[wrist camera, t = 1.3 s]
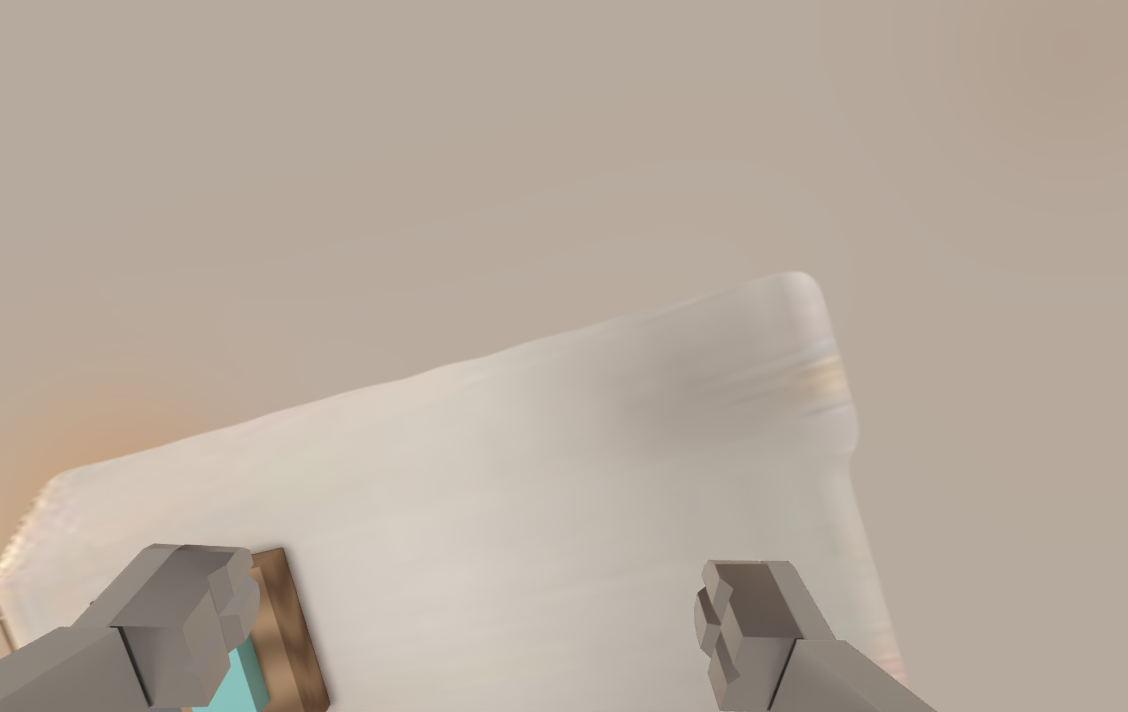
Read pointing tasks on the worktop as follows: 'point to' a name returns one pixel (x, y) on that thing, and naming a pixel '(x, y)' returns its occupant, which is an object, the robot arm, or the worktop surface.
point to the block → (240, 684)
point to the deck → (283, 641)
